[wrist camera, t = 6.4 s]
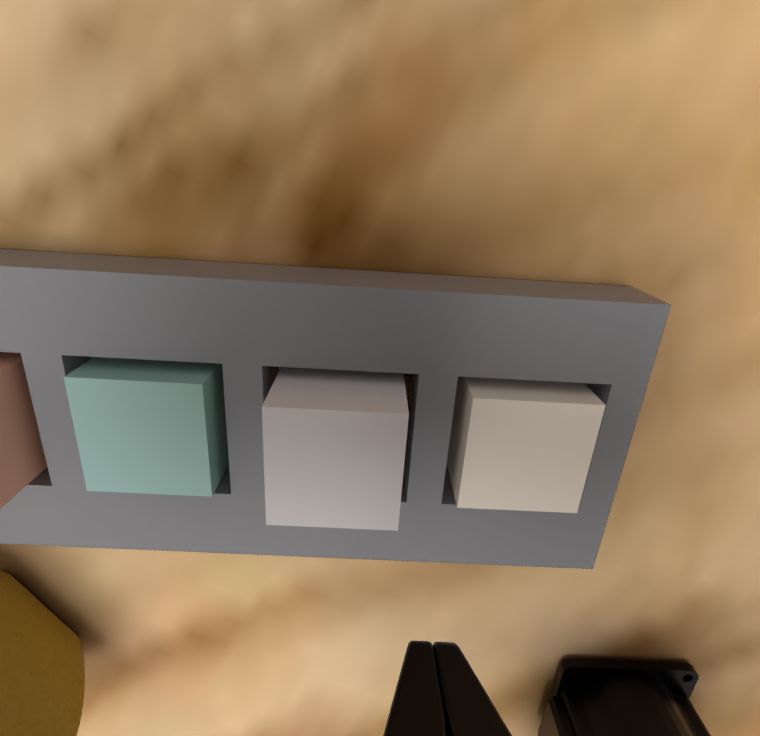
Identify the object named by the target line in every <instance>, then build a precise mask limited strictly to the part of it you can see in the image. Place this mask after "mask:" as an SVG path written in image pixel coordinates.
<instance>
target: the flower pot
mask: <svg viewBox="0 0 760 736" xmlns="http://www.w3.org/2000/svg"><path fill="white" fill-rule="evenodd" d="M84 687H85V669H84V657H83V651H82V644H81V641H80V638H79V637H78V636H77V635H76V634H75V633H74V632H73V631H72V630H71V629H70V628H69V627H67V626H66V625H65V624H64V623H63V622H62V621H61V620H60V619H59V618H57V617H56V616H55V615H54V614H53V613H52V612H51V611H50V610H49V609H47V608H46V607H45V606H44V605H43V604H42V603H41V602H40V601H39V600H38V599H37V598H36V597H34V596H33V595H32V594H31V593H30V592H29V591H28V590H27V589H26V588H25V587H24V586H23V585H22V584H20V583H19V582H18V581H17V580H16V579H15V578H14V577H12V576H11V575H10V574H8V573H6V572H3V571H0V736H77V732H78V728H79V724H80V719H81V714H82V708H83V700H84Z"/></svg>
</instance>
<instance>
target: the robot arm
mask: <svg viewBox="0 0 760 736" xmlns="http://www.w3.org/2000/svg"><path fill="white" fill-rule="evenodd" d="M697 680H698V674H697V672H696V670H695V669H694V667H693V666H692V665H691V664H689V663H674V662H647V661H620V660H594V659H567V660H564V661H563V662H562V663H561V664H560V666H559V670H558V673H557V676H556V680H555V683H554V687H553V690H552V694H551V696H550V698H549V699H548V701H547V704H546V707H545V711H544V714H543V718H542V721H541V725H540V728H539V736H711V735H710V734H709V732H708V730H707V728H706V727H705V725H704V723H703V722H702V720H701V718H700V717H699V715H698V713H697V712H696V710H695V708H694V706H693V705H692V703H691V701H690V700H689V698H690V695H691V693H692V691H693V689H694V687H695V684H696V682H697ZM383 736H512V735H511V733H510V732H509V730H508V728H507V727H506V725H505V723H504V722H503V720H502V718H501V717H500V715H499V713H498V712H497V710H496V708H495V707H494V705H493V703H492V702H491V700H490V698H489V697H488V695H487V693H486V692H485V690H484V688H483V687H482V685H481V683H480V682H479V680H478V678H477V677H476V675H475V673H474V672H473V670H472V668H471V667H470V665H469V663H468V661H467V660H466V658H465V656H464V655H463V653H462V651H461V650H460V648H459V647H458V646H457V645H456V644H455V643H449V642H435V643H433V645H432V643H430V642H428V641H410V642H409V644H408V647H407V650H406V654H405V658H404V661H403V665H402V669H401V672H400V676H399V680H398V683H397V687H396V691H395V694H394V698H393V702H392V705H391V709H390V713H389V717H388V720H387V724H386V728H385V731H384V735H383Z"/></svg>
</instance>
